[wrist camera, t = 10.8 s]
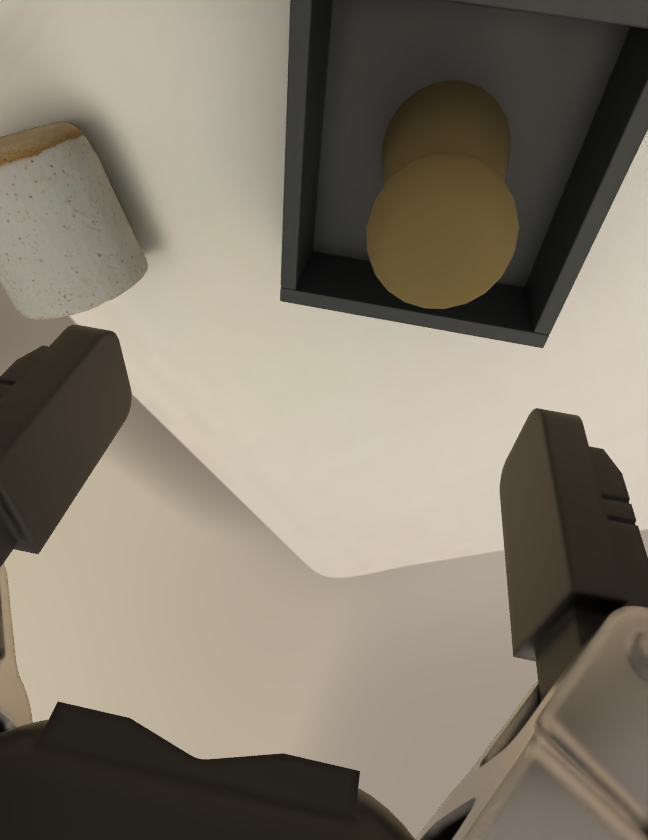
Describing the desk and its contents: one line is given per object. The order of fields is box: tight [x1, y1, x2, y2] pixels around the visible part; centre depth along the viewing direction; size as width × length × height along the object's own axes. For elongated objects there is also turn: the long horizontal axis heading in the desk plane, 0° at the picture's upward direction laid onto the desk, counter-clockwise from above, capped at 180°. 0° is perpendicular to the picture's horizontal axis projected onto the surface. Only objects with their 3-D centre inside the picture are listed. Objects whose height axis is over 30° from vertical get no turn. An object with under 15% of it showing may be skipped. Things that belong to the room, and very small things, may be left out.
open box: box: [280, 0, 648, 348], centre depth 23 cm, size 14×14×5 cm
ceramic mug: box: [0, 122, 148, 319], centre depth 28 cm, size 11×8×8 cm
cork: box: [366, 80, 519, 309], centre depth 21 cm, size 6×6×11 cm
